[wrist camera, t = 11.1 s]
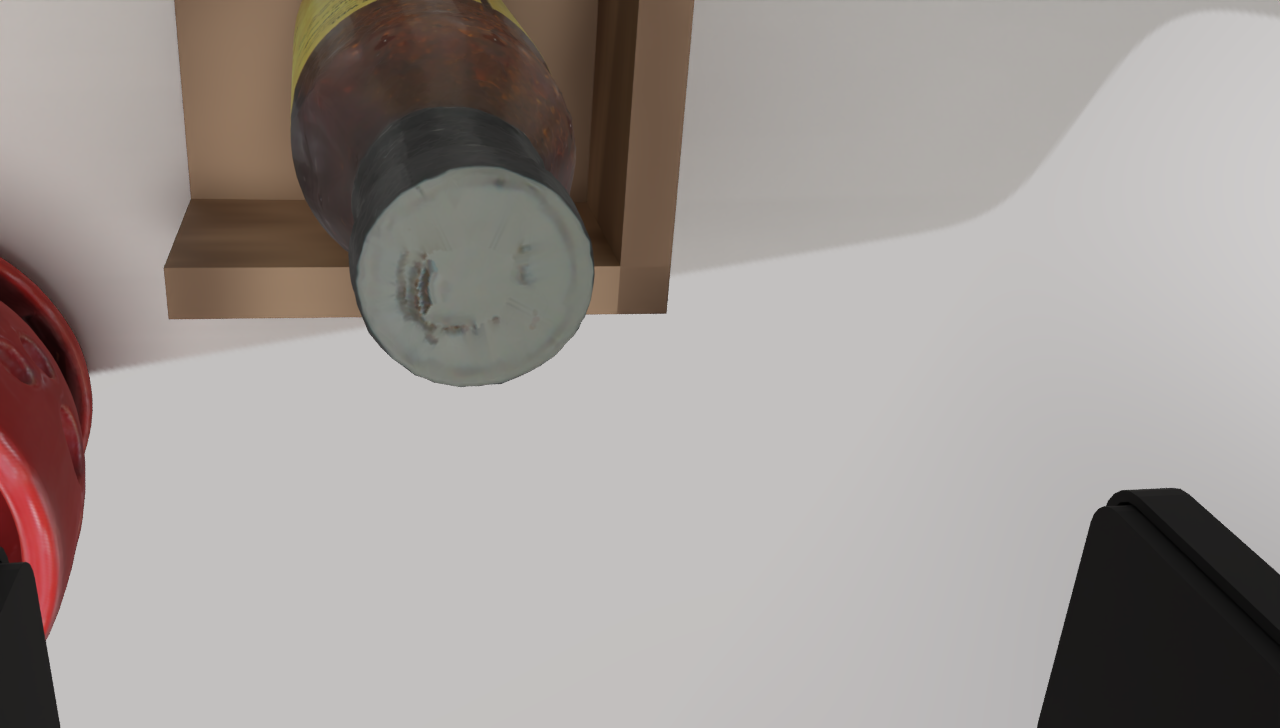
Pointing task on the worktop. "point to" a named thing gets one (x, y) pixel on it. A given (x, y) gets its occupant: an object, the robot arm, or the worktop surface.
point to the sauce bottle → (442, 181)
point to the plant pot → (41, 436)
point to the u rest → (313, 261)
